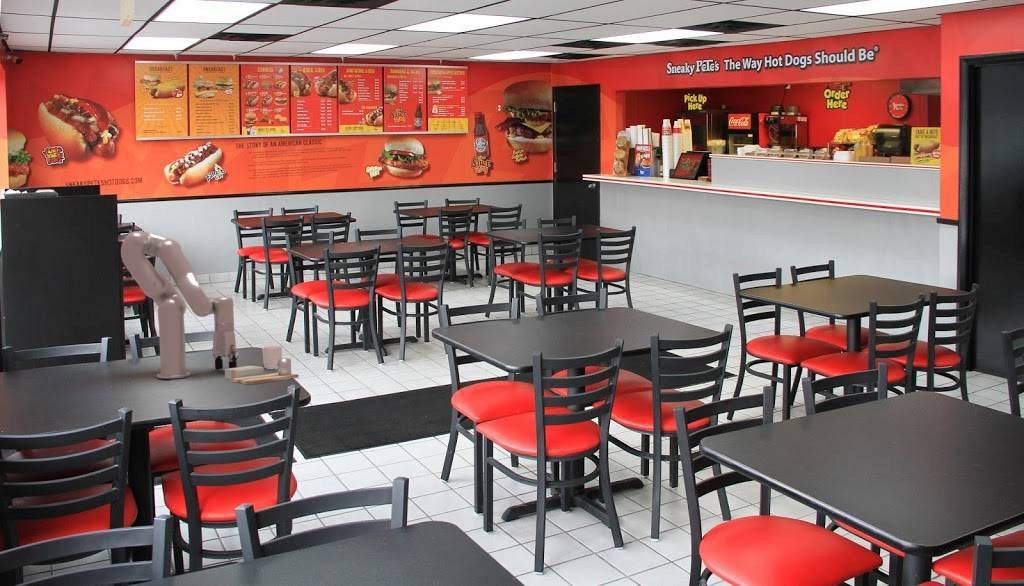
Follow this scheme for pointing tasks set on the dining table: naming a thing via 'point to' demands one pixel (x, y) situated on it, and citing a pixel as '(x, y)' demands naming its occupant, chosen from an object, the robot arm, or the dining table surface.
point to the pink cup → (271, 356)
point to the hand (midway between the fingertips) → (225, 370)
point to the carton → (243, 372)
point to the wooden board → (263, 378)
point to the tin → (284, 366)
